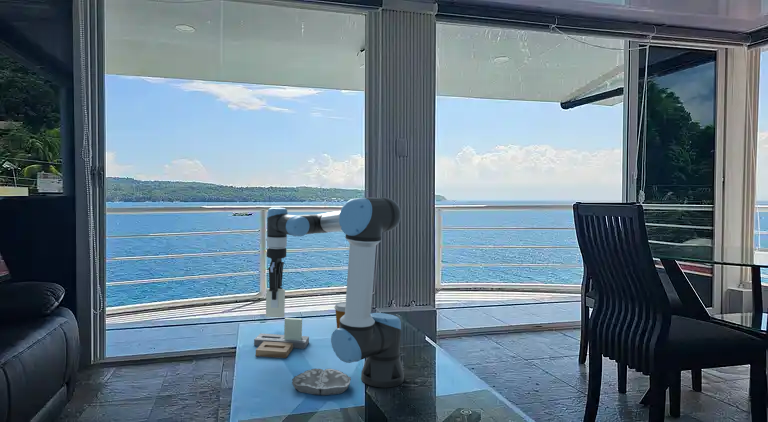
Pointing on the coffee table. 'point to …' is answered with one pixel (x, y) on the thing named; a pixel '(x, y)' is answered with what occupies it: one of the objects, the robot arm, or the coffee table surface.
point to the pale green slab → (281, 304)
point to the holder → (274, 349)
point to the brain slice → (321, 382)
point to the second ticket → (293, 328)
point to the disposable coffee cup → (339, 311)
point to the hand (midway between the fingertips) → (275, 306)
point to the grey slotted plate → (281, 340)
